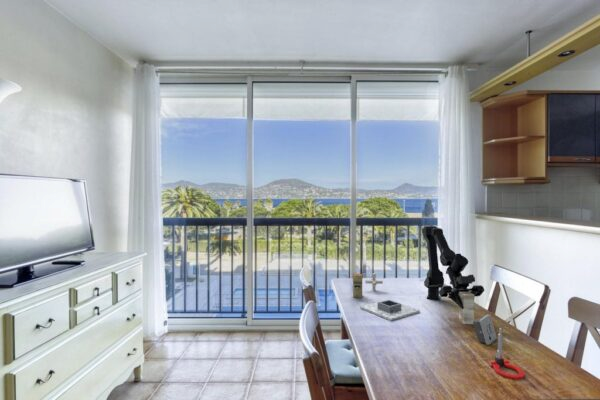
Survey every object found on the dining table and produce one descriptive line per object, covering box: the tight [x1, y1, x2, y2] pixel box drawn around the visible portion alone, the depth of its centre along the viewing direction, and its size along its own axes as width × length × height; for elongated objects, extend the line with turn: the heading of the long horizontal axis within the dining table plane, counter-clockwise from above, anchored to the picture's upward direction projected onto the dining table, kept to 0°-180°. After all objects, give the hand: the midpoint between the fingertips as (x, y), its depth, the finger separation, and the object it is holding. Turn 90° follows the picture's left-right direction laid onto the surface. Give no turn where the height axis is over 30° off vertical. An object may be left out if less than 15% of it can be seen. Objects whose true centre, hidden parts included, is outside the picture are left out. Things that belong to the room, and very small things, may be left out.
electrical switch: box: [473, 314, 498, 346], centre depth 133 cm, size 9×5×9 cm, turn 132°
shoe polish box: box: [352, 273, 363, 299], centre depth 189 cm, size 5×5×12 cm
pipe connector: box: [364, 272, 384, 292], centre depth 200 cm, size 10×10×10 cm
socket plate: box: [359, 299, 421, 322], centre depth 166 cm, size 20×20×4 cm
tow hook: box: [488, 327, 525, 380], centre depth 109 cm, size 8×13×9 cm
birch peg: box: [458, 292, 475, 325], centre depth 150 cm, size 4×4×13 cm
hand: (468, 308), depth 149 cm, fingers closed on birch peg, 4 cm apart
